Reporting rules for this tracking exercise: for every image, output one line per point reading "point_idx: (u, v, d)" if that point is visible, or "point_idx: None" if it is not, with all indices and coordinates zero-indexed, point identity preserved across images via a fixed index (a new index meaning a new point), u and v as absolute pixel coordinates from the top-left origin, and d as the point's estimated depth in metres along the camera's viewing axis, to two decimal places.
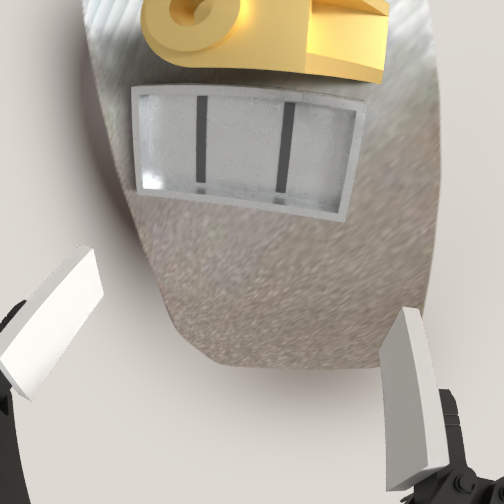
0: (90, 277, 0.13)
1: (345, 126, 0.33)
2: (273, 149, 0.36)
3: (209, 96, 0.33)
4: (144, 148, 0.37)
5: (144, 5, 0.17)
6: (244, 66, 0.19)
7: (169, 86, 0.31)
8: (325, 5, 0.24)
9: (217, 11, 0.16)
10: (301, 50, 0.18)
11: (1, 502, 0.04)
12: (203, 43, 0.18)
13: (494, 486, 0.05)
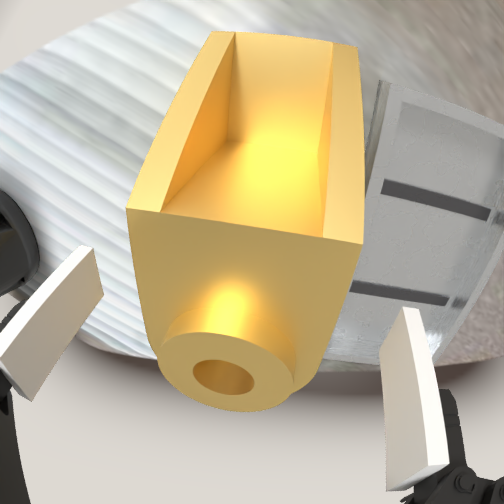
0: (90, 277, 0.13)
1: (418, 113, 0.19)
2: (436, 215, 0.23)
3: None
4: None
5: None
6: (333, 322, 0.14)
7: None
8: (229, 123, 0.20)
9: (235, 358, 0.14)
10: (318, 245, 0.12)
11: (1, 502, 0.04)
12: (284, 377, 0.14)
13: (494, 486, 0.05)
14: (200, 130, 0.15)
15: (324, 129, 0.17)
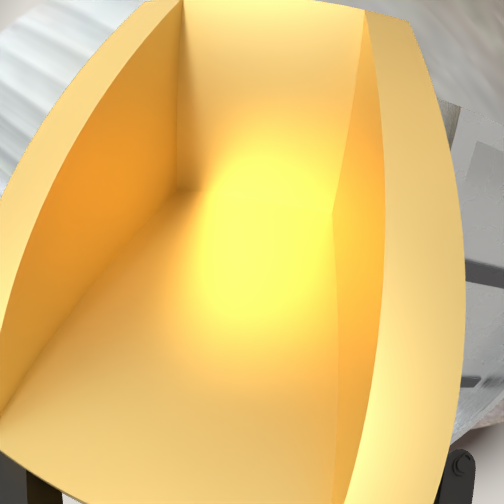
0: None
1: (486, 154, 0.11)
2: (486, 294, 0.15)
3: None
4: None
5: None
6: None
7: None
8: (178, 159, 0.12)
9: None
10: None
11: None
12: None
13: (445, 462, 0.06)
14: (78, 210, 0.06)
15: (352, 185, 0.08)
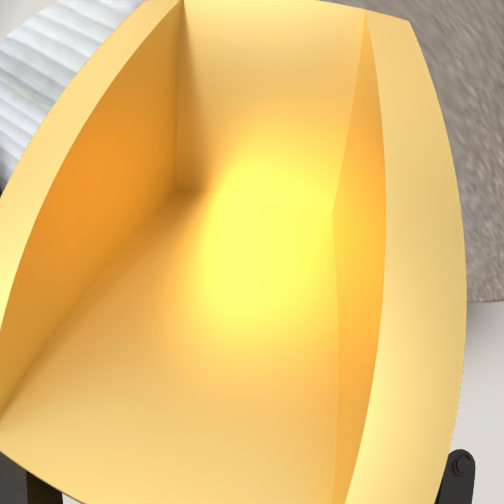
0: None
1: None
2: None
3: None
4: None
5: None
6: None
7: None
8: (178, 159, 0.12)
9: None
10: None
11: None
12: None
13: None
14: (77, 210, 0.06)
15: (352, 184, 0.08)
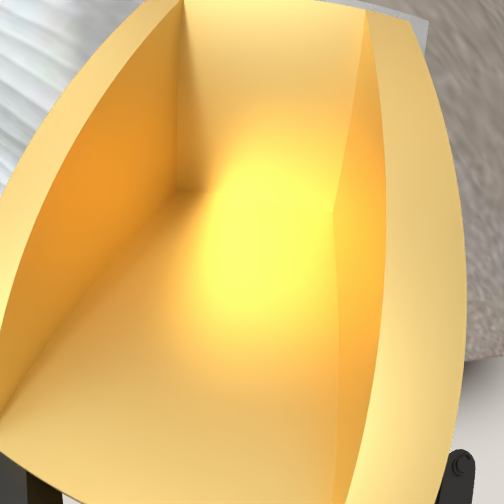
0: None
1: None
2: None
3: None
4: None
5: None
6: None
7: None
8: (179, 159, 0.12)
9: None
10: None
11: None
12: None
13: None
14: (77, 210, 0.06)
15: (352, 185, 0.08)
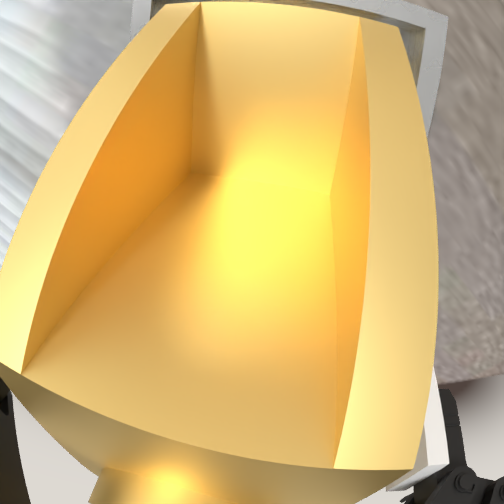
0: None
1: None
2: None
3: None
4: None
5: None
6: None
7: None
8: (193, 145, 0.13)
9: None
10: (321, 473, 0.04)
11: (1, 502, 0.04)
12: None
13: (494, 486, 0.05)
14: (115, 178, 0.08)
15: (346, 165, 0.10)
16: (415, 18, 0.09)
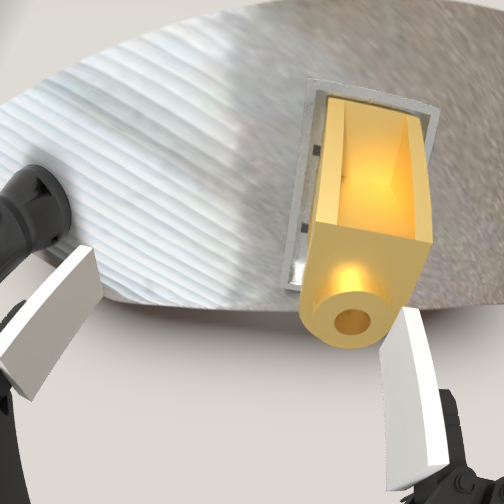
0: (90, 277, 0.13)
1: None
2: None
3: (302, 221, 0.39)
4: None
5: None
6: (413, 285, 0.24)
7: (285, 256, 0.39)
8: None
9: (365, 307, 0.24)
10: (412, 243, 0.22)
11: (1, 502, 0.04)
12: (388, 318, 0.24)
13: (494, 486, 0.05)
14: None
15: (401, 174, 0.27)
16: (426, 110, 0.26)
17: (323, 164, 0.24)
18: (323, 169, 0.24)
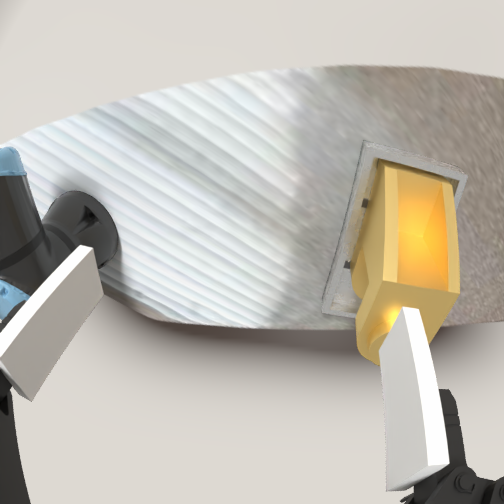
0: (90, 277, 0.13)
1: None
2: None
3: (345, 259, 0.45)
4: None
5: None
6: (442, 321, 0.30)
7: (330, 288, 0.46)
8: None
9: None
10: (446, 294, 0.28)
11: (1, 502, 0.04)
12: None
13: (494, 486, 0.05)
14: None
15: (435, 232, 0.33)
16: (457, 177, 0.33)
17: (385, 231, 0.31)
18: (385, 236, 0.30)
